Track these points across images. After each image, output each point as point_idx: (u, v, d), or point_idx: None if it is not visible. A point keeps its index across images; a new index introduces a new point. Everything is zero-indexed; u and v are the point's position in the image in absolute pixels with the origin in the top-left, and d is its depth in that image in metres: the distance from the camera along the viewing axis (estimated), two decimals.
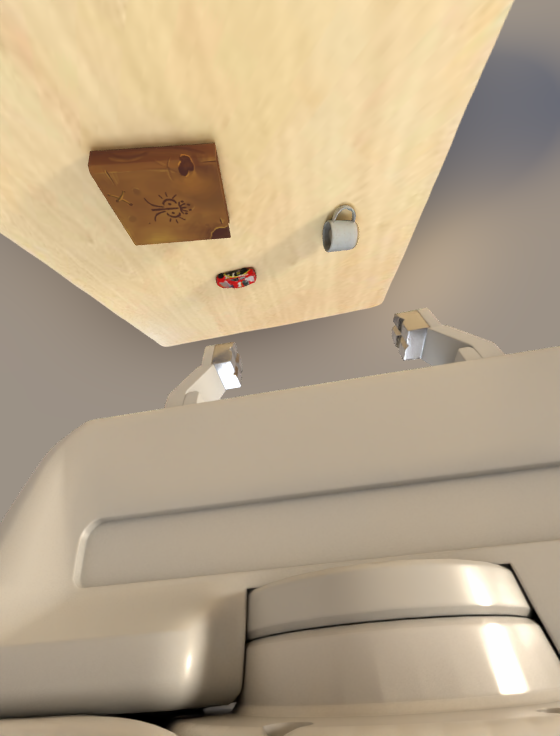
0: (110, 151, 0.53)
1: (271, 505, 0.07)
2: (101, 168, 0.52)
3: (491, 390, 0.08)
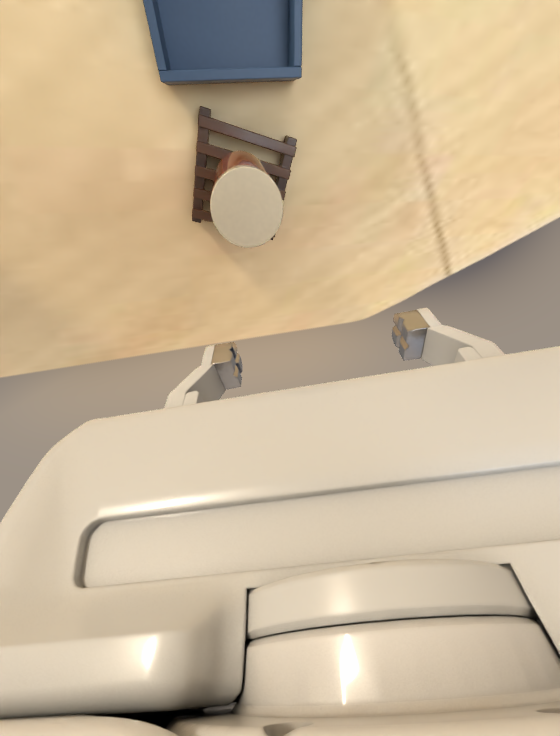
0: None
1: (271, 506, 0.07)
2: None
3: (491, 390, 0.08)
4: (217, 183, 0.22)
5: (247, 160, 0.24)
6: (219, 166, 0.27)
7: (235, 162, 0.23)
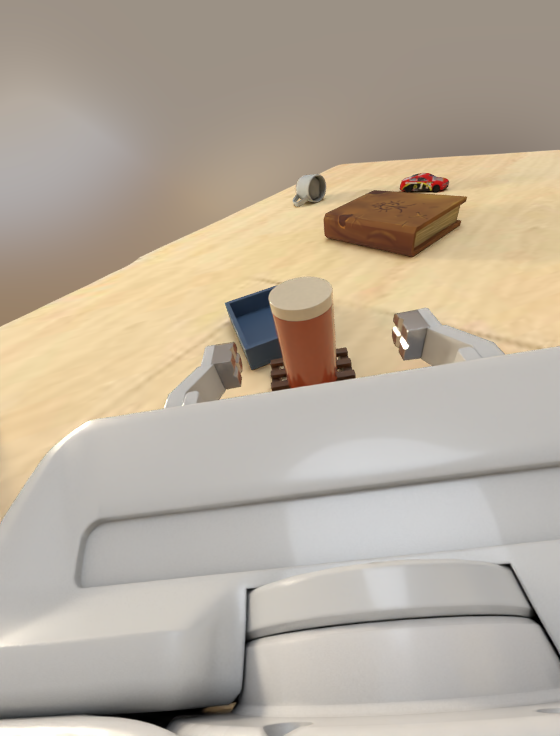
0: (394, 248, 0.58)
1: (271, 506, 0.07)
2: (404, 228, 0.54)
3: (491, 390, 0.08)
4: (272, 290, 0.27)
5: None
6: None
7: None
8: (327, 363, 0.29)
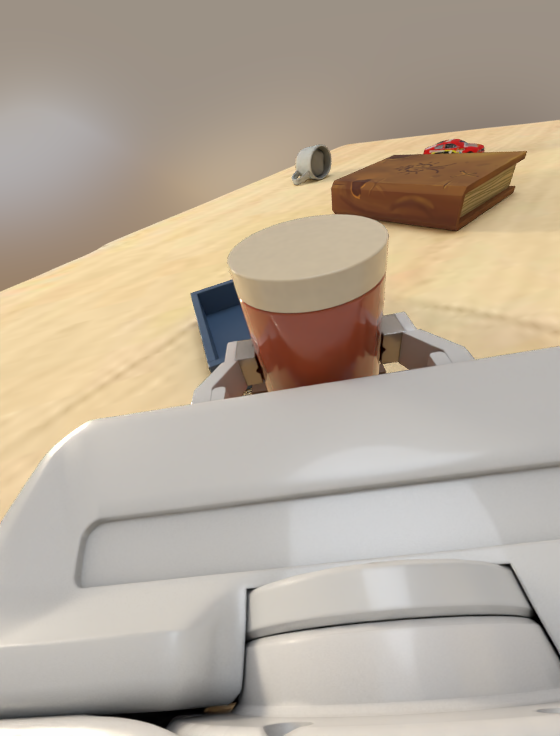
0: (430, 220, 0.42)
1: (271, 506, 0.07)
2: (447, 190, 0.39)
3: (491, 390, 0.08)
4: (239, 244, 0.12)
5: None
6: None
7: None
8: None
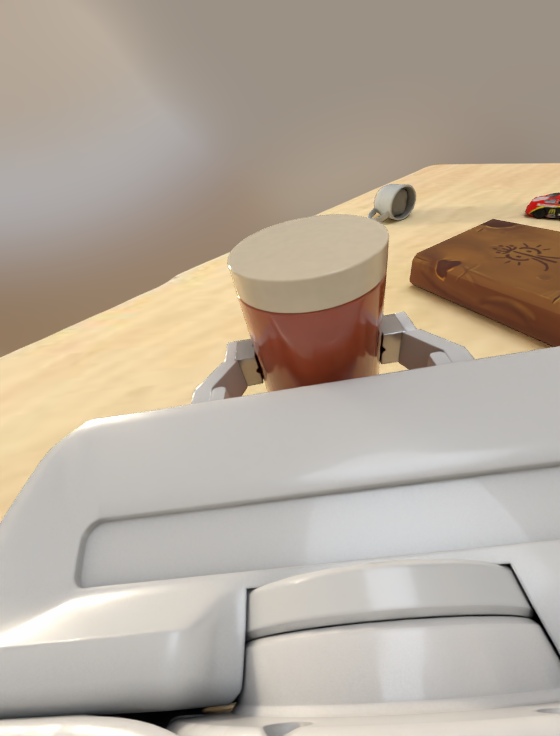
0: (527, 329, 0.36)
1: (271, 505, 0.07)
2: (557, 307, 0.33)
3: (491, 390, 0.08)
4: (239, 244, 0.12)
5: None
6: None
7: None
8: None
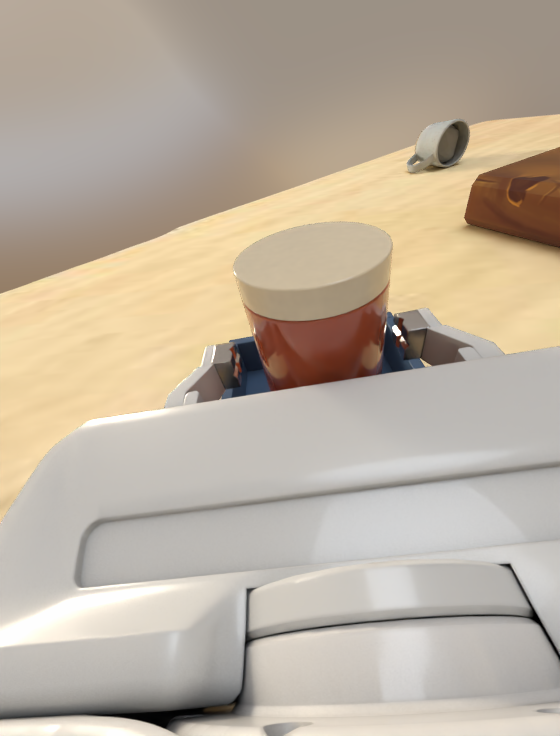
0: None
1: (271, 505, 0.07)
2: None
3: (491, 390, 0.08)
4: (244, 251, 0.12)
5: None
6: None
7: None
8: None
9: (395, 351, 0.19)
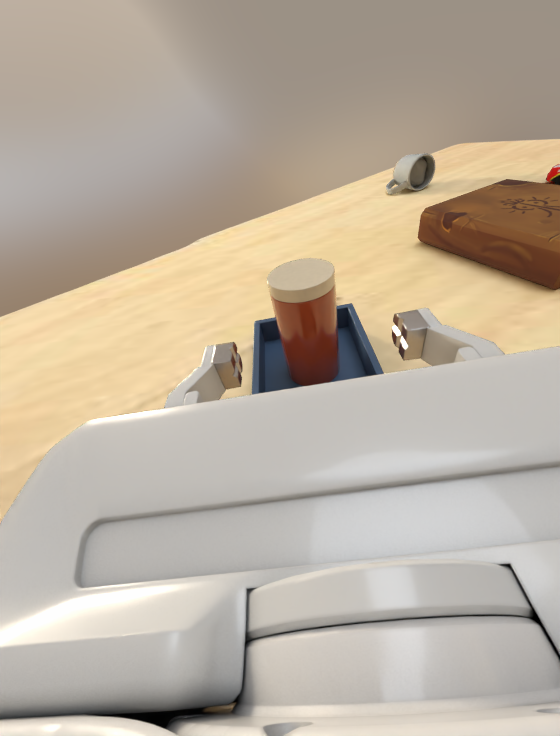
0: (524, 272, 0.38)
1: (271, 505, 0.07)
2: (552, 244, 0.34)
3: (491, 390, 0.08)
4: (270, 272, 0.26)
5: None
6: None
7: None
8: (329, 350, 0.28)
9: (352, 325, 0.34)
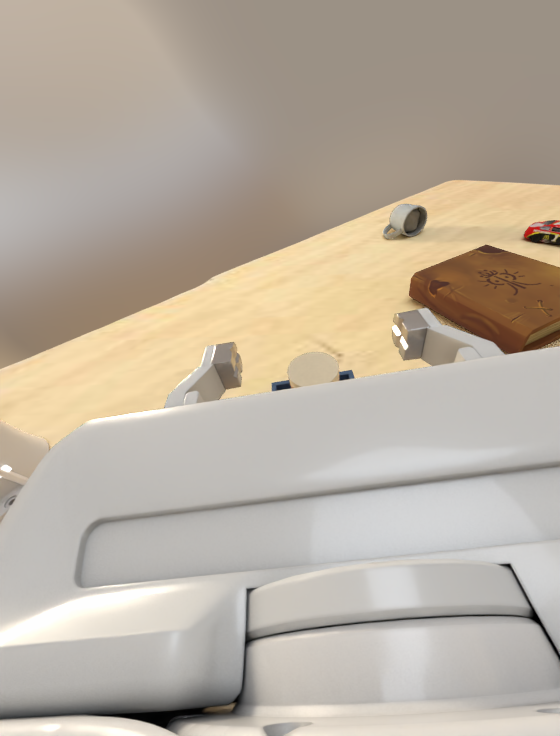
0: (494, 341, 0.46)
1: (271, 505, 0.07)
2: (514, 325, 0.42)
3: (491, 390, 0.08)
4: None
5: None
6: None
7: None
8: None
9: None
